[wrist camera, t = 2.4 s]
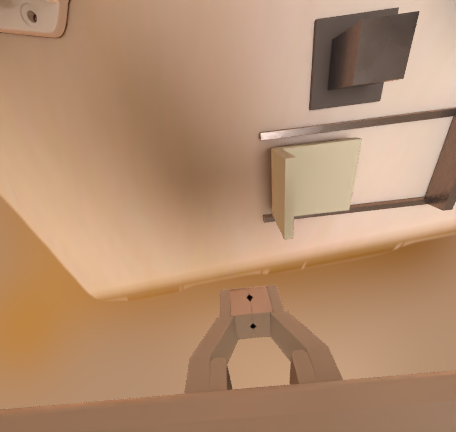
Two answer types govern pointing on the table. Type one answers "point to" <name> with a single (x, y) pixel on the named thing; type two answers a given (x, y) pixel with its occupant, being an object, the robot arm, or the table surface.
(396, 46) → the steel block
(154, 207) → the table surface
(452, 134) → the track
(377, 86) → the station pad
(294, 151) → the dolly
